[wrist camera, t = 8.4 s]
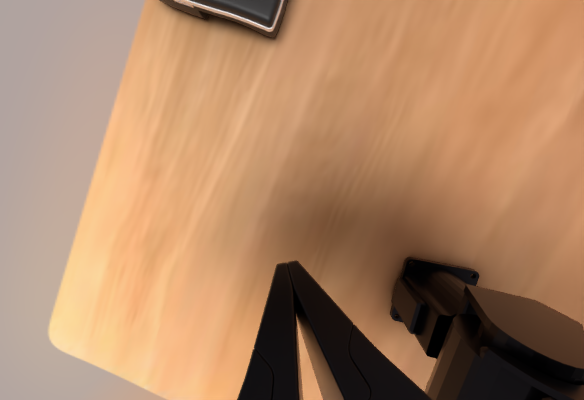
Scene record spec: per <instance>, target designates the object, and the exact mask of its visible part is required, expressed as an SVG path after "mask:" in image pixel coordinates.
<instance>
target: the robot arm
mask: <svg viewBox="0 0 584 400" xmlns="http://www.w3.org/2000/svg"><path fill="white" fill-rule="evenodd" d="M410 262H413V263H412V264H411V265H409V263H410ZM471 274H473V275H472V276H471V277H470V275H471ZM478 278H479V274H478V272H476V271H475V270H473V269H469V268H464V267H459V266H454V265H448V264H443V263H438V262H433V261H428V260H423V259H418V258H413V257H409V258H407V259H406V260H405V262H404V266H403V269H402V273H401V276H400V277H399V278H398V280H397V283H396V287H395V291H394V294H393V298H392V303H393V305H392V308H391V312H390V315H391V317H392V319H393V320H395V321H399V322H404V324H405V326H406V327H407V329H408V331H409V332H410V333H411V334H414V335H415V336H416V338H417V340H418V341H419V343H420V345H421V346H422V348H423V350H424V351H425V353H426V355H427V356H429V357H433V358H436V359H437V361H436V364H435V366H434V369H433V371H432V374H431V376H430V379H429V381H428V383H427V386H426V389H425V392H424V391H423V390H421V389H420V388H419V387H418V386H417V385H416V384H415V383H414V382H413V381H412V380H410V379H409V378H408V377H407V376H406V375H405V374H404V373H403V372H402V371H401V370H400V369H398V368H397V367H396V366H395V365H394V364H393V363H392V362H391V361H390V360H389V359H388V358H386V357H385V356H384V355H383V354H382V353H381V352H380V351H379V350H378V349H377V348H376V347H375V346H374V345H373V344H372V343H371V342H370V341H369V340H368V339H367V338H366V337H365V335H364V334H363V333H362V332H361V331H360V330H359V329H358V328H357V327H356V326H355V325H353V322H352V321H351V320H350V319H349V318H348V317H347V316H346V315H345V313H344V312H343V311H342V310H341V309H340V308H339V307H338V306H337V304H336V303H335V302H334V301H333V300H332V299H331V298H330V297H329V296H328V294H327V293H326V292H325V291H324V290H323V289H322V288H321V287H320V286H319V284H318V283H317V282H316V281H315V280H314V279H313V278H312V277H311V275H310V274H309V273H308V272H307V271H306V270H305V269H304V268H303V267H302V265H301V264H300V263H299V262H298V261H290V262H288V263H280V264H277V266H276V269H275V272H274V276H273V280H272V283H271V287H270V291H269V294H268V298H267V301H266V305H265V309H264V312H263V316H262V320H261V323H260V327H259V331H258V334H257V338H256V341H255V345H254V349H253V352H252V355H251V359H250V363H249V366H248V369H247V372H246V376H245V379H244V382H243V385H242V388H241V390H240V393H239V396H238V399H237V400H303V391H302V379H301V366H300V354H299V341H298V329H297V320H298V323H299V326H300V329H301V332H302V336H303V339H304V342H305V345H306V348H307V351H308V354H309V357H310V360H311V363H312V366H313V370H314V373H315V376H316V379H317V382H318V385H319V388H320V391H321V394H322V397H323V400H584V330H583V326H582V325H581V324H580V323H579V322H577V321H575V320H573V319H571V318H569V317H567V316H565V315H563V314H561V313H560V312H558V311H556V310H554V309H552V308H550V307H548V306H546V305H544V304H542V303H540V302H538V301H535V300H532V299H528V298H524V297H520V296H515V295H511V294H507V293H503V292H498V291H494V290H490V289H486V288H481V287H477V286H476V284H477V281H478ZM395 314H398V315H397V316H394V315H395ZM296 316H297V318H296Z"/></svg>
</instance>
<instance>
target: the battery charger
mask: <svg viewBox="0 0 584 400" xmlns="http://www.w3.org/2000/svg"><path fill="white" fill-rule="evenodd" d="M160 1H161V2H163V3H165V4H167V5H169V6H172V7H174V8H177V9H179V10H182V11H184V12H187V13H189V14H192V15H195V16H198V17H200V18H203V19H207V18H208V16H209V14H211V15H215V16H218V17H221V18H225V19H228V20H232V21H235V22H237V23H240V24H242V25H245V26H247V27H249V28H251V29H253V30H255V31H257V32H259V33H261V34H263V35H266V36H269V37H275V36H276V34H277V32H278V29H279V27H280V24H281V21H282V18H283V14H284V11H285V8H286V5H287V1H288V0H160Z"/></svg>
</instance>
